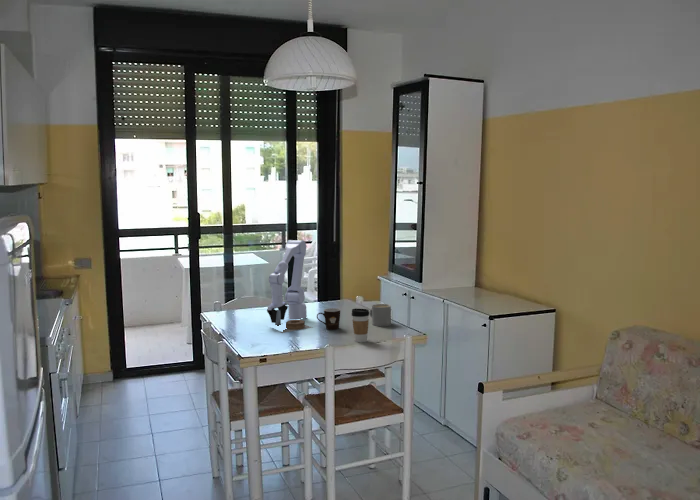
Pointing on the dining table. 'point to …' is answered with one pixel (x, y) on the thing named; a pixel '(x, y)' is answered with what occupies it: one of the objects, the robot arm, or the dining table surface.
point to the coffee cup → (360, 324)
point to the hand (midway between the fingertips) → (277, 321)
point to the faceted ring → (295, 324)
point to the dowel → (278, 318)
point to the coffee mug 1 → (331, 318)
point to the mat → (295, 330)
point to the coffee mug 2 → (381, 314)
